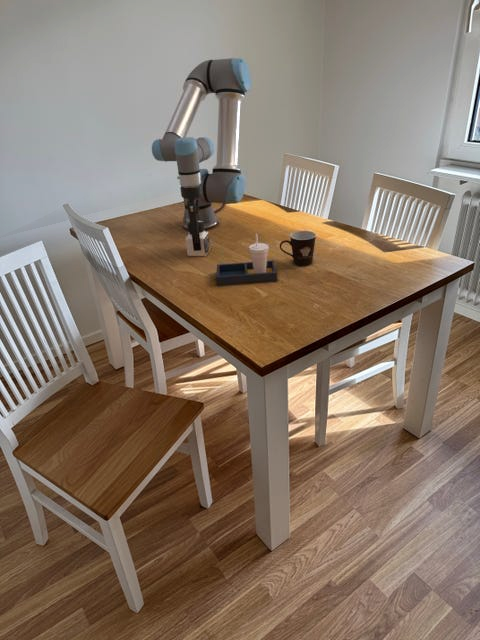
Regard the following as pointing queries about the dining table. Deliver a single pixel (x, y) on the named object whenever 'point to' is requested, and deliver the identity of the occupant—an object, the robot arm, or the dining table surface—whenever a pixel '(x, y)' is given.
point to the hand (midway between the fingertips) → (198, 245)
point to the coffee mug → (301, 247)
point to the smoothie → (259, 256)
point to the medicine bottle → (203, 240)
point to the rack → (244, 273)
